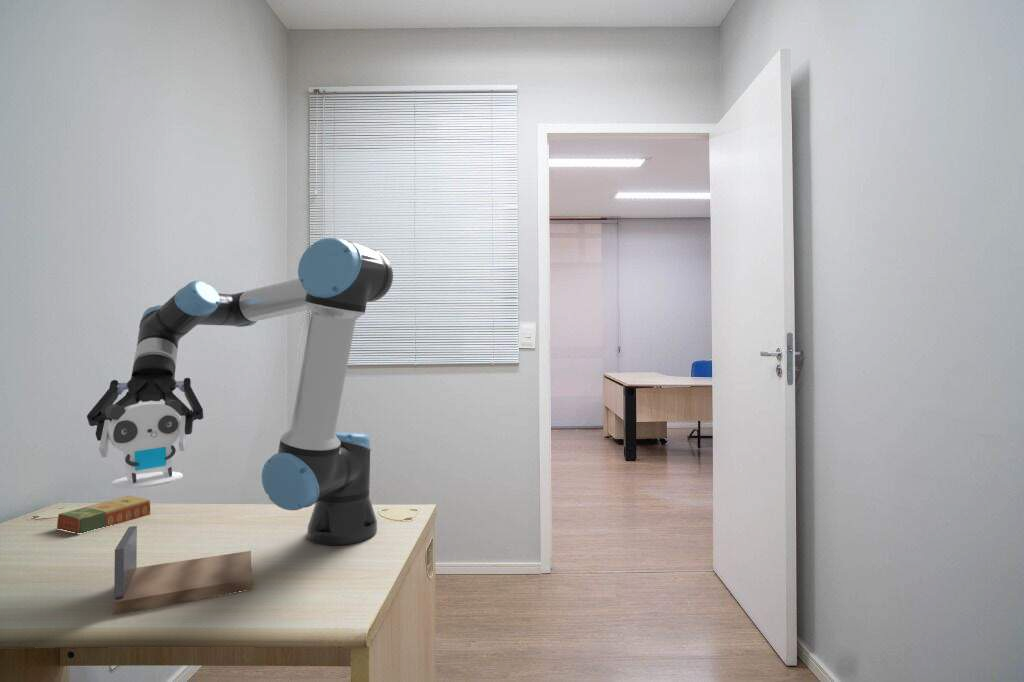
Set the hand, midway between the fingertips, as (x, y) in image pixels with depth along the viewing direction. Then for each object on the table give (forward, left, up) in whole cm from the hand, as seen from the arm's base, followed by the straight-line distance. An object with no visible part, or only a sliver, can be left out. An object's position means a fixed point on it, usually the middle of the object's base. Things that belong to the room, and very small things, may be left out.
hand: (143, 449), depth 101 cm
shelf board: (-8, +8, -23) cm, 26 cm away
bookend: (+1, +8, -21) cm, 23 cm away
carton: (+13, -38, -24) cm, 47 cm away
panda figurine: (0, -3, -7) cm, 7 cm away
